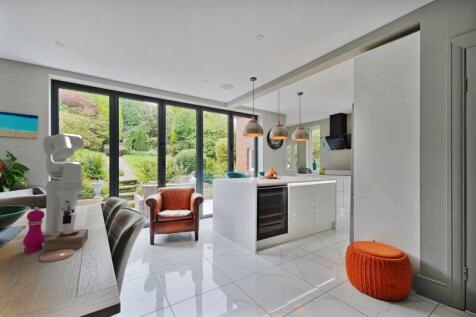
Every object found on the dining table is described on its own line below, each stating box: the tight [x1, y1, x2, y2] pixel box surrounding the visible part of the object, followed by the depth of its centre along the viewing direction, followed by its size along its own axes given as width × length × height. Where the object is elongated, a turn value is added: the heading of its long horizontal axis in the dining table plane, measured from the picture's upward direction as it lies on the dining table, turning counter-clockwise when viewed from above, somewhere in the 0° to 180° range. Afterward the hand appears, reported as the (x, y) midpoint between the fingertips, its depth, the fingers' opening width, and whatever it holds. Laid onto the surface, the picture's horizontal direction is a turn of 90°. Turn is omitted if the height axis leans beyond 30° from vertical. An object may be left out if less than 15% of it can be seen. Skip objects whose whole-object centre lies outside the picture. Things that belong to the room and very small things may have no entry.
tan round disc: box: [39, 249, 75, 263], centre depth 90 cm, size 11×11×1 cm
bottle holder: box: [42, 228, 89, 254], centre depth 104 cm, size 16×14×5 cm
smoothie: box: [61, 208, 78, 234], centre depth 105 cm, size 6×6×14 cm
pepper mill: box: [22, 206, 46, 254], centre depth 97 cm, size 7×7×20 cm
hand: (68, 221), depth 105 cm, fingers closed on smoothie, 6 cm apart
